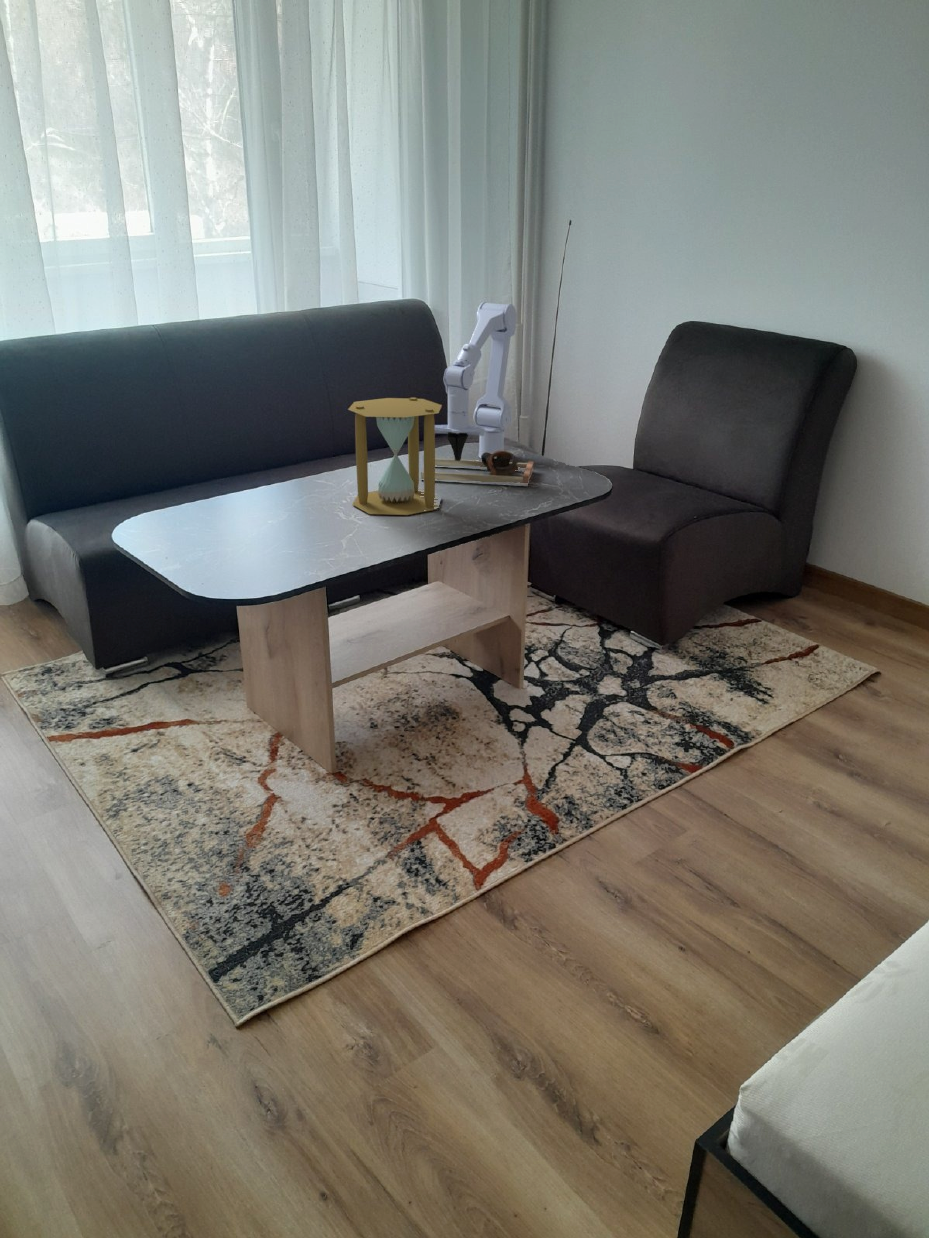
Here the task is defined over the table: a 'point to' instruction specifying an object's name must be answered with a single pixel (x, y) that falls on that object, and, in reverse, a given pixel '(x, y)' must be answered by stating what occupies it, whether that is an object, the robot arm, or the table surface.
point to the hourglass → (396, 483)
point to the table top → (477, 476)
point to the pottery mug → (499, 463)
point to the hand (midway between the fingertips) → (458, 459)
